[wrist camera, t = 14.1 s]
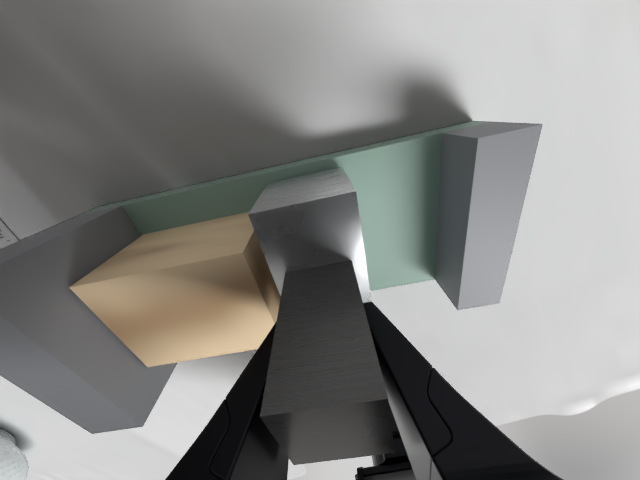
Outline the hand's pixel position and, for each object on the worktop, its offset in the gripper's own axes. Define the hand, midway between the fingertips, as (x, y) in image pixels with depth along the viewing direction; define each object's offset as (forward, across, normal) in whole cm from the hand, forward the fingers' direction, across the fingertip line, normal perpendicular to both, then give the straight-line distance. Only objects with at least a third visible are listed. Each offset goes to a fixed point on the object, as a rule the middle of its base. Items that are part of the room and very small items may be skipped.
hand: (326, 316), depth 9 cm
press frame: (+8, +2, 0) cm, 8 cm away
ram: (+6, 0, 0) cm, 6 cm away
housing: (+6, +7, 0) cm, 9 cm away
